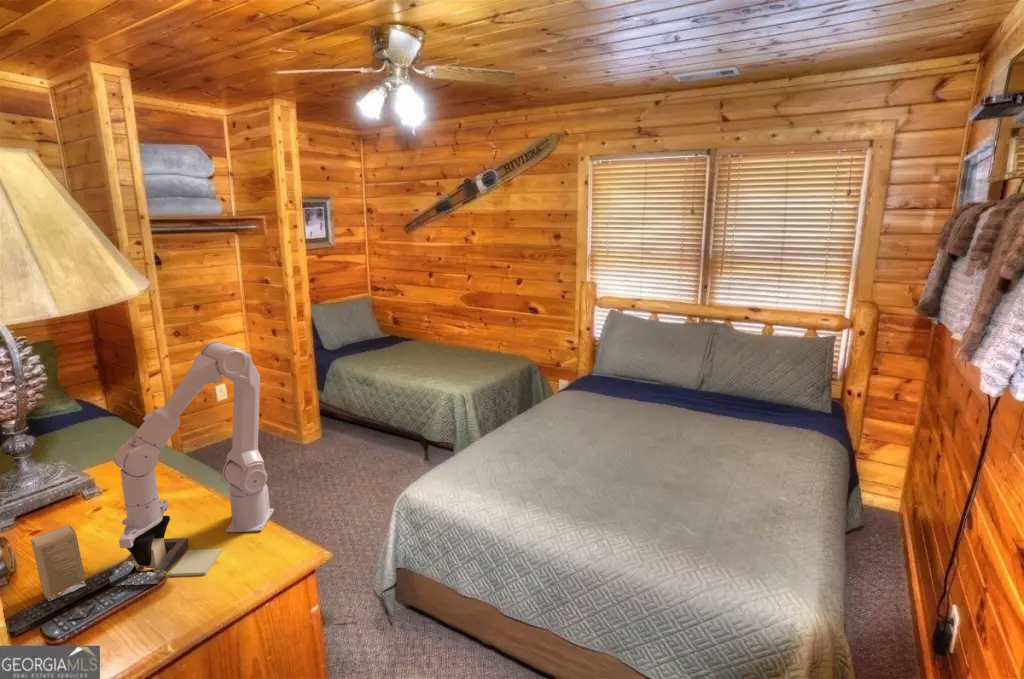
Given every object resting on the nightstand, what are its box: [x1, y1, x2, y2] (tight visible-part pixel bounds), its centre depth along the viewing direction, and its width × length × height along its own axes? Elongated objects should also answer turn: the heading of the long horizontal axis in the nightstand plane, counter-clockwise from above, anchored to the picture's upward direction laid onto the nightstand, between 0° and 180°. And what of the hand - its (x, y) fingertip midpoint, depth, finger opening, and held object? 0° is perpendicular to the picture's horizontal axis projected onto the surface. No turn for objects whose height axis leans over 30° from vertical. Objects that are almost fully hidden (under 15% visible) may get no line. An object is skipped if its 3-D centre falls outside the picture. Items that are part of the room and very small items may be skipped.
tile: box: [168, 548, 223, 577], centre depth 117 cm, size 8×7×1 cm
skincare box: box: [30, 524, 86, 599], centre depth 106 cm, size 6×4×12 cm
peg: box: [134, 537, 167, 568], centre depth 115 cm, size 4×4×5 cm
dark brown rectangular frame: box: [124, 537, 190, 578], centre depth 116 cm, size 13×9×2 cm
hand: (150, 558), depth 116 cm, fingers closed on peg, 4 cm apart
